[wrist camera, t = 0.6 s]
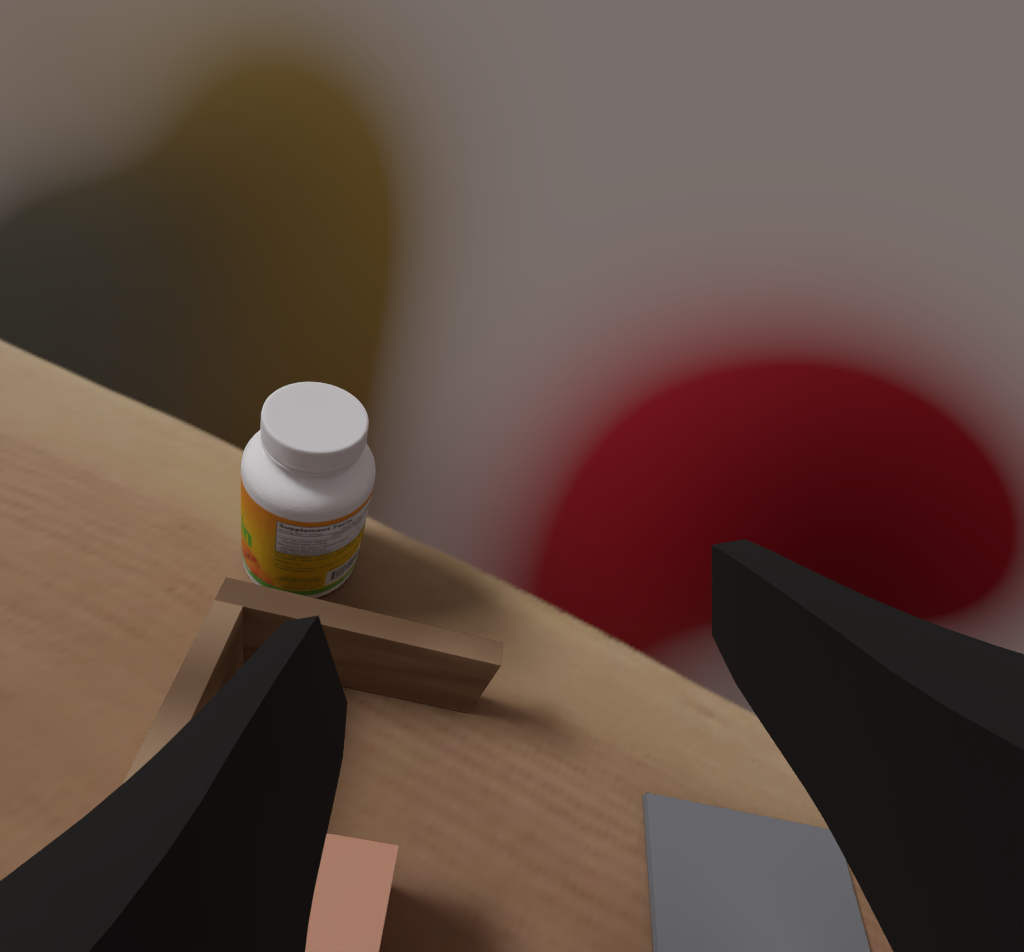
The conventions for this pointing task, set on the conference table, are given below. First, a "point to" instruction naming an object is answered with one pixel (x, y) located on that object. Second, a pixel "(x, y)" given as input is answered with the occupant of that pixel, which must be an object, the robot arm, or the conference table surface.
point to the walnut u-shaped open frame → (353, 645)
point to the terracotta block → (351, 895)
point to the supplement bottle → (306, 489)
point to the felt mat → (745, 883)
